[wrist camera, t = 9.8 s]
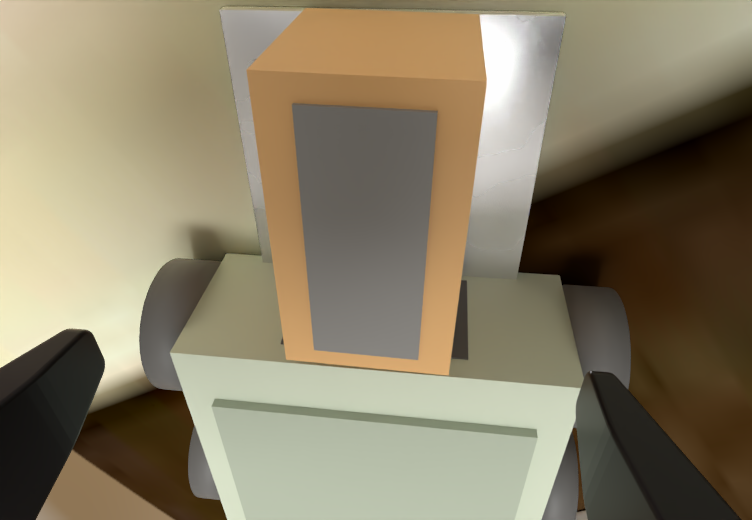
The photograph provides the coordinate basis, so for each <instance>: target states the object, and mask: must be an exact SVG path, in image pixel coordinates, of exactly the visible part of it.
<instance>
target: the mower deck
mask: <svg viewBox="0 0 752 520" xmlns="http://www.w3.org/2000/svg"><path fill="white" fill-rule="evenodd" d="M139 342H140V355H141V361H142V365H143V368H144V371H145V374H146V376H147V378H148V379H149V381H150V382H151V383H152V384H153V385H154V386H155V387H157V388H160V389H169V390H179V391H183V392H184V395H185V398H186V401H187V404H188V407H189V410H190V413H191V416H192V418H193V421H194V424H195V425H194V429H193V433H192V438H191V443H190V450H189V460H188V474H189V482H190V486H191V489H192V491H193V493H194V495H195V496H197V497H200V498H208V499H217V500H221V502H222V505H223V508H224V511H225V514H226V517H227V520H576V514H577V505H578V464H577V454H576V447H575V442H574V437H573V433H572V429H573V428H577V424H576V401H577V398H578V395H579V392H580V389H581V386H582V383H583V380H584V377H585V375H586V373H587V372H589V371H601V372H610V373H613V374H614V375H615V376H616V377H617V378H618V379H619V380H620V381H621V382H622V383H623V385H624V386H625V387H626V388H627V389H628V387H629V380H630V365H631V348H630V335H629V327H628V321H627V316H626V312H625V309H624V306H623V303H622V301H621V298H620V297H619V295H618V294H617V292H616V291H615V290H614V289H612V288H609V287H594V286H579V285H562V283H561V279H560V275H548V274H533V273H518V275H517V280H516V279H501V278H486V277H471V276H462V278H461V285H460V293H459V301H458V308H457V316H456V323H455V331H454V339H453V346H452V354H451V361H450V369H449V376H448V375H438V374H427V373H417V372H407V371H397V370H387V369H376V368H366V367H356V366H346V365H336V364H325V363H315V362H305V361H295V360H286V355H285V348H284V341H283V334H282V326H281V319H280V312H279V304H278V297H277V290H276V283H275V275H274V268H273V263H264V262H263V260H262V256H261V255H245V254H230V253H226V255H225V257H224V259H223V260H222V262H220V261H210V260H196V259H181V258H177V259H173V260H170V261H169V262H167V263H166V264H165V265H164V266H163V267H162V268H161V269H160V270H159V272H158V273H157V275H156V276H155V278H154V280H153V281H152V283H151V285H150V288H149V290H148V293H147V296H146V299H145V302H144V306H143V311H142V316H141V323H140V338H139Z"/></svg>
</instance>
